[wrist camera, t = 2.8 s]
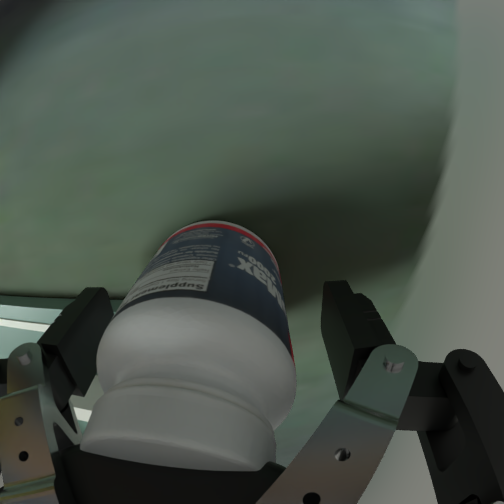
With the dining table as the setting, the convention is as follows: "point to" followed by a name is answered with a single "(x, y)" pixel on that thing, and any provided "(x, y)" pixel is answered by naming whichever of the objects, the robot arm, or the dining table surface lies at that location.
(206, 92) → the dining table surface
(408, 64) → the dining table surface
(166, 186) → the dining table surface
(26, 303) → the board
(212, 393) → the pill bottle
